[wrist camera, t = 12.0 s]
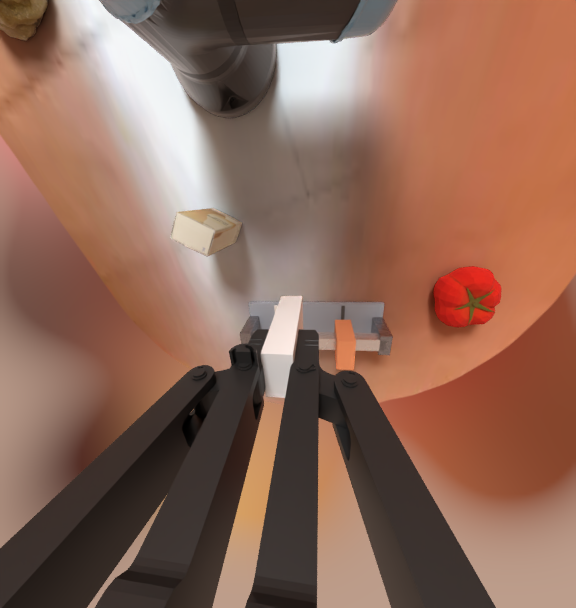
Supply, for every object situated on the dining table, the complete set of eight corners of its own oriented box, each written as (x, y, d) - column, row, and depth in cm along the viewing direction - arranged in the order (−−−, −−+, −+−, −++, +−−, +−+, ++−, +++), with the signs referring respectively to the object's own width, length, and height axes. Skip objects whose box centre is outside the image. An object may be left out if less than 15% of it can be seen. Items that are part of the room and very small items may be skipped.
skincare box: (243, 222, 44) (217, 231, 33) (235, 243, 46) (209, 258, 35) (211, 206, 43) (175, 210, 32) (205, 228, 45) (168, 239, 34)
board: (254, 340, 55) (253, 342, 54) (249, 301, 51) (248, 303, 50) (377, 343, 51) (378, 346, 50) (383, 301, 47) (384, 304, 46)
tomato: (430, 320, 48) (445, 338, 42) (425, 270, 44) (442, 282, 38) (484, 310, 45) (509, 327, 40) (485, 256, 41) (512, 267, 36)
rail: (252, 331, 53) (242, 351, 46) (249, 316, 51) (239, 334, 45) (380, 334, 49) (390, 355, 43) (382, 317, 47) (392, 337, 41)
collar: (334, 345, 48) (336, 369, 41) (334, 319, 46) (337, 341, 39) (348, 345, 48) (353, 370, 41) (350, 319, 45) (356, 341, 39)
